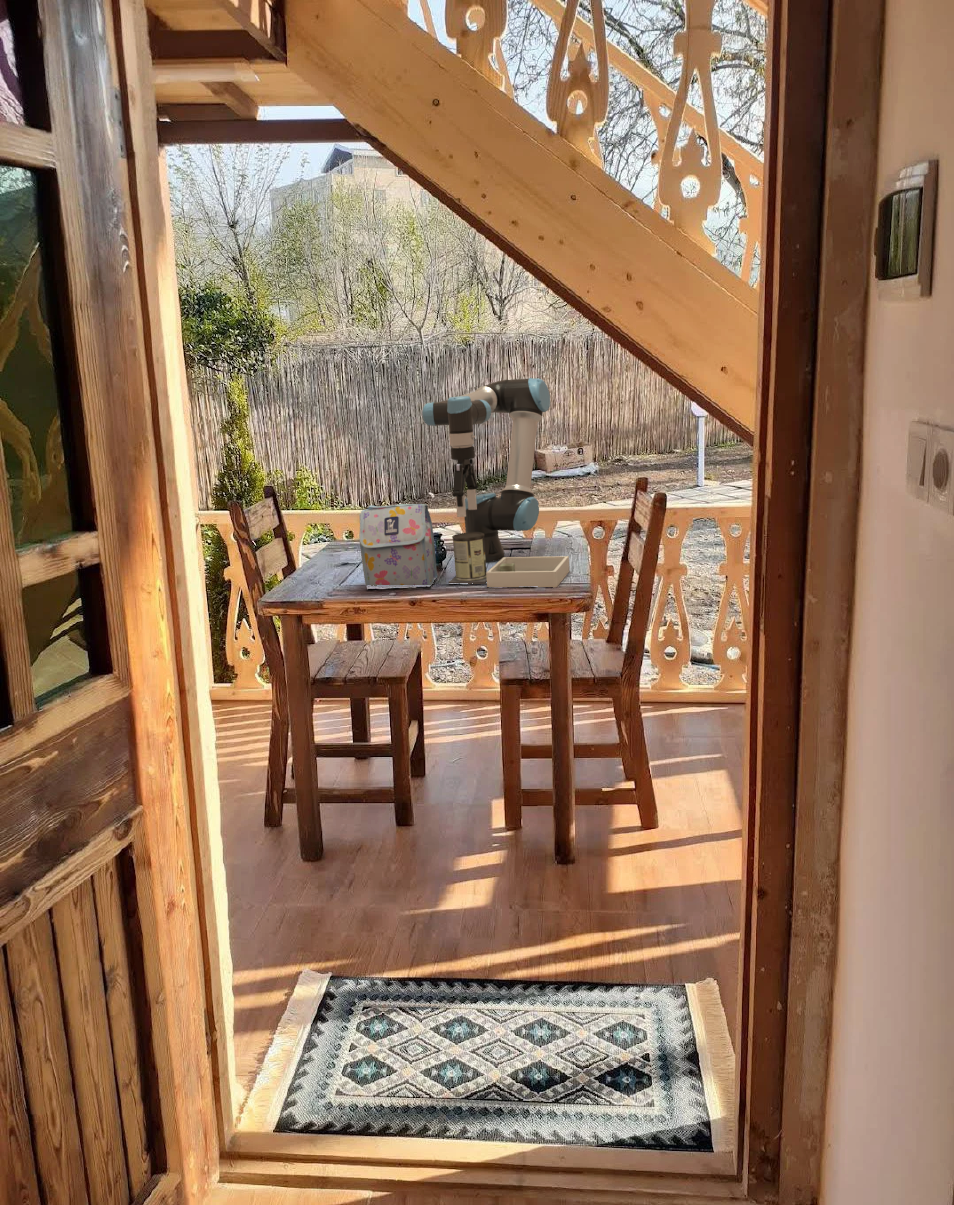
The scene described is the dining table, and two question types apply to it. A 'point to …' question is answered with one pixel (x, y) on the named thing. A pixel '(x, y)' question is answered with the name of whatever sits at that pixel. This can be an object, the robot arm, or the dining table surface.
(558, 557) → the open crate
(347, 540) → the dining table surface
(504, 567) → the khaki block
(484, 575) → the coffee can
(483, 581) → the charcoal mat
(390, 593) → the dining table surface
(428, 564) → the lunch bag
